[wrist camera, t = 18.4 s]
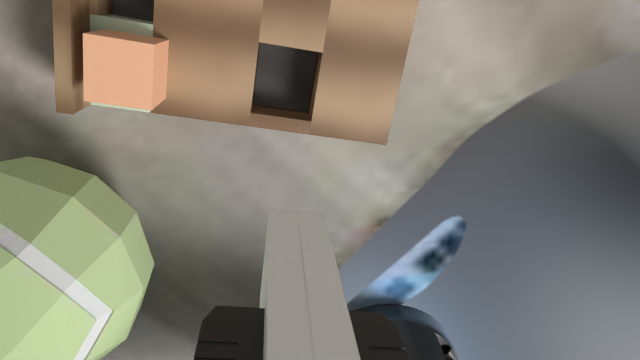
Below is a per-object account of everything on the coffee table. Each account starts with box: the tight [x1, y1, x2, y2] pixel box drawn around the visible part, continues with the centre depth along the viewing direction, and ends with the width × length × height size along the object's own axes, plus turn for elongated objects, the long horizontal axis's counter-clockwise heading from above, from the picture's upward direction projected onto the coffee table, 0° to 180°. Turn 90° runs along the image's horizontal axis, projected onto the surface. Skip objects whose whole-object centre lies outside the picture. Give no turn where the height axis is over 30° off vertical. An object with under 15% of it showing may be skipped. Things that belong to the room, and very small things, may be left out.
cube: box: [83, 29, 169, 111], centre depth 29 cm, size 4×4×4 cm
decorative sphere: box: [0, 156, 155, 360], centre depth 31 cm, size 15×15×15 cm
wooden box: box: [52, 0, 419, 145], centre depth 31 cm, size 12×22×6 cm, turn 80°
